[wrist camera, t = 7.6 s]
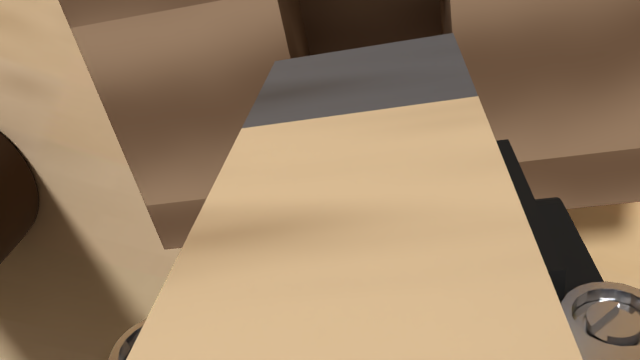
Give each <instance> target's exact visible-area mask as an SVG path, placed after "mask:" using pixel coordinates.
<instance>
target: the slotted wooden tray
mask: <svg viewBox="0 0 640 360" xmlns="http://www.w3.org/2000/svg"><path fill="white" fill-rule="evenodd" d="M59 2H60V5H61V7H62V10H63V12H64V14H65V17H66V19H67V21H68V24H69V26H70V28H71V31H72V33H73V35H74V38H75V40H76V42H77V45H78V47H79V50H80V52H81V54H82V57H83V59H84V61H85V64H86V66H87V68H88V71H89V73H90V75H91V78H92V80H93V82H94V85H95V87H96V90H97V92H98V94H99V97H100V99H101V101H102V104H103V106H104V108H105V111H106V113H107V115H108V118H109V120H110V122H111V125H112V127H113V130H114V132H115V134H116V137H117V139H118V141H119V144H120V146H121V148H122V151H123V153H124V155H125V158H126V160H127V163H128V165H129V167H130V170H131V172H132V174H133V177H134V179H135V181H136V184H137V186H138V188H139V191H140V193H141V195H142V198H143V200H144V203H145V205H146V207H147V210H148V212H149V214H150V217H151V219H152V221H153V224H154V226H155V228H156V231H157V233H158V235H159V238H160V240H161V243H162V245H163V247H164V249H174V248H182V247H183V245H184V243H185V241H186V239H187V237H188V235H189V233H190V231H191V229H192V227H193V225H194V223H195V221H196V219H197V217H198V215H199V213H200V211H201V209H202V207H203V205H204V203H205V201H206V199H207V197H208V195H209V193H210V191H211V189H212V187H213V185H214V183H215V181H216V179H217V177H218V175H219V173H220V171H221V169H222V167H223V165H224V163H225V161H226V159H227V157H228V155H229V153H230V151H231V149H232V147H233V145H234V143H235V141H236V139H237V137H238V135H239V132H240V130H241V128H242V126H243V124H244V122H245V120H246V118H247V116H248V114H249V112H250V110H251V108H252V106H253V104H254V102H255V100H256V98H257V96H258V94H259V92H260V90H261V88H262V86H263V84H264V82H265V80H266V78H267V76H268V74H269V72H270V70H271V68H272V66H273V64H274V62H275V61H279V60H286V59H292V58H298V57H304V56H311V55H317V54H323V53H330V52H336V51H342V50H349V49H355V48H361V47H367V46H374V45H380V44H386V43H393V42H399V41H405V40H412V39H418V38H424V37H430V36H437V35H443V34H449V33H453V34H454V36H455V39H456V41H457V44H458V46H459V49H460V51H461V54H462V56H463V59H464V61H465V64H466V67H467V69H468V72H469V74H470V77H471V79H472V82H473V84H474V87H475V89H476V92H477V94H478V97H479V99H480V102H481V104H482V107H483V109H484V112H485V114H486V117H487V119H488V122H489V125H490V127H491V130H492V132H493V135H494V137H495V140H496V141H497V140H505V139H508V140H509V142H510V144H511V146H512V148H513V151H514V153H515V155H516V157H517V160H518V162H519V164H520V167H521V169H522V171H523V173H524V176H525V178H526V180H527V182H528V185H529V187H530V189H531V191H532V194H533V196H534V198H535V199H543V198H553V197H558V198H560V199H561V201H562V202H563V204H564V206H565V208H566V209H572V208H582V207H591V206H601V205H611V204H621V203H631V202H640V0H59Z"/></svg>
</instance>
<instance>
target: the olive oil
mask: <svg viewBox="0 0 640 360" xmlns="http://www.w3.org/2000/svg"><path fill="white" fill-rule="evenodd" d="M38 207H39V197H38V190H37V186H36V183H35V180H34V177H33V175H32V173H31V171H30V169H29V167H28V165H27V163H26V162H25V160H24V159H23V157H22V156H21V154H20V153H19V152H18V151H17V149H16V148H15V147H14V146H13V145H12V144H11V143H10V142H9V141H8V140H7V139H6V138H5V137H4V136H3V135H2V134H1V133H0V264H1V262H2V261H3V260H4V259H5V258H6V257H7V256H8V254H9V253H10V252H11V251H12V250H13V249H14V247H15V246H16V245H17V244H18V243H19V242H20V241H21V239H22V238H23V237H24V236H25V235H26V233H27V232H28V231H29V230H30V228H31V227H32V225H33V223H34V221H35V219H36V216H37V213H38Z"/></svg>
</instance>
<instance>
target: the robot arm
mask: <svg viewBox="0 0 640 360" xmlns="http://www.w3.org/2000/svg"><path fill="white" fill-rule="evenodd" d="M496 142H497V145H498V147H499V150H500V152H501V155H502V157H503V160H504V162H505V165H506V167H507V170H508V172H509V175H510V177H511V180H512V182H513V185H514V188H515V190H516V193H517V195H518V198H519V200H520V203H521V205H522V208H523V210H524V213H525V215H526V218H527V220H528V223H529V225H530V228H531V230H532V233H533V235H534V238H535V240H536V243H537V246H538V248H539V251H540V253H541V256H542V258H543V261H544V263H545V266H546V268H547V271H548V273H549V276H550V278H551V281H552V283H553V286H554V288H555V291H556V293H557V296H558V298H559V301H560V304H561V306H562V309H563V311H564V314H565V316H566V319H567V321H568V324H569V326H570V329H571V331H572V334H573V336H574V339H575V341H576V344H577V346H578V349H579V351H580V354H581V356H582V359H583V360H640V289H637V288H634V287H631V286H628V285H625V284H620V283H613V282H604V281H603V279H602V277H601V275H600V274H599V272H598V270H597V268H596V266H595V264H594V262H593V260H592V258H591V256H590V254H589V252H588V250H587V248H586V246H585V244H584V243H583V241H582V239H581V237H580V235H579V233H578V231H577V229H576V227H575V225H574V223H573V221H572V219H571V217H570V215H569V213H568V212H567V210H566V208H565V206H564V204H563V202H562V201H561V199H560V198H558V197H553V198H543V199H535V198H534V196H533V194H532V191H531V189H530V187H529V185H528V182H527V180H526V178H525V176H524V173H523V171H522V169H521V167H520V164H519V162H518V160H517V157H516V155H515V153H514V151H513V148H512V146H511V144H510V142H509V140H508V139H505V140H497V141H496ZM146 319H147V318H146ZM146 319H144V320H143V321H141V322H139V323H137V324H135V325H134V326H132V327H131V328H130V329H129V330H127V331H126V332H125V333H124V334H123V335H122V336H121V337H120V338H119V340H118V341H117V342H116V343H115V345H114V347H113V349H112V351H111V353H110V356H109V359H108V360H126V359H127V357H128V355H129V353H130V351H131V349H132V347H133V345H134V343H135V341H136V339H137V337H138V335H139V333H140V331H141V329H142V327H143V325H144V323H145V321H146Z"/></svg>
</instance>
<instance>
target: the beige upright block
mask: <svg viewBox="0 0 640 360" xmlns="http://www.w3.org/2000/svg"><path fill="white" fill-rule="evenodd" d="M126 360H583V359H582V356H581V354H580V351H579V349H578V346H577V344H576V341H575V339H574V336H573V334H572V331H571V329H570V326H569V324H568V321H567V319H566V316H565V314H564V311H563V309H562V306H561V304H560V301H559V298H558V296H557V293H556V291H555V288H554V286H553V283H552V281H551V278H550V276H549V273H548V271H547V268H546V266H545V263H544V261H543V258H542V256H541V253H540V251H539V248H538V246H537V243H536V240H535V238H534V235H533V233H532V230H531V228H530V225H529V223H528V220H527V218H526V215H525V213H524V210H523V208H522V205H521V203H520V200H519V198H518V195H517V193H516V190H515V188H514V185H513V182H512V180H511V177H510V175H509V172H508V170H507V167H506V165H505V162H504V160H503V157H502V155H501V152H500V150H499V147H498V145H497V142H496V140H495V137H494V135H493V132H492V130H491V127H490V125H489V122H488V119H487V117H486V114H485V112H484V109H483V107H482V104H481V102H480V99H479V97H478V94H477V92H476V89H475V87H474V84H473V82H472V79H471V77H470V74H469V72H468V69H467V67H466V64H465V61H464V59H463V56H462V54H461V51H460V49H459V46H458V44H457V41H456V39H455V36H454V34H453V33H449V34H443V35H437V36H430V37H424V38H418V39H412V40H405V41H399V42H393V43H386V44H380V45H374V46H367V47H361V48H355V49H349V50H342V51H336V52H330V53H323V54H317V55H311V56H304V57H298V58H292V59H286V60H279V61H275V62H274V64H273V66H272V68H271V70H270V72H269V74H268V76H267V78H266V80H265V82H264V84H263V86H262V88H261V90H260V92H259V94H258V96H257V98H256V100H255V102H254V104H253V106H252V108H251V110H250V112H249V114H248V116H247V118H246V120H245V122H244V124H243V126H242V128H241V130H240V132H239V135H238V137H237V139H236V141H235V143H234V145H233V147H232V149H231V151H230V153H229V155H228V157H227V159H226V161H225V163H224V165H223V167H222V169H221V171H220V173H219V175H218V177H217V179H216V181H215V183H214V185H213V187H212V189H211V191H210V193H209V195H208V197H207V199H206V201H205V203H204V205H203V207H202V209H201V211H200V213H199V215H198V217H197V219H196V221H195V223H194V225H193V227H192V229H191V231H190V233H189V235H188V237H187V239H186V241H185V243H184V245H183V247H182V249H181V251H180V253H179V255H178V257H177V259H176V261H175V263H174V265H173V267H172V269H171V271H170V273H169V275H168V277H167V279H166V281H165V283H164V285H163V287H162V289H161V291H160V293H159V295H158V297H157V299H156V301H155V303H154V305H153V307H152V309H151V311H150V313H149V315H148V317H147V319H146V321H145V323H144V325H143V327H142V329H141V331H140V333H139V335H138V337H137V339H136V341H135V343H134V345H133V347H132V349H131V351H130V353H129V355H128V357H127V359H126Z"/></svg>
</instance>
